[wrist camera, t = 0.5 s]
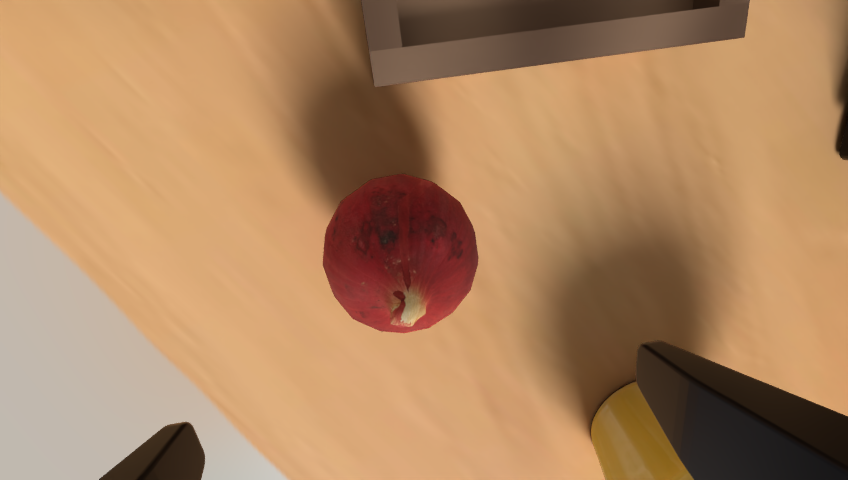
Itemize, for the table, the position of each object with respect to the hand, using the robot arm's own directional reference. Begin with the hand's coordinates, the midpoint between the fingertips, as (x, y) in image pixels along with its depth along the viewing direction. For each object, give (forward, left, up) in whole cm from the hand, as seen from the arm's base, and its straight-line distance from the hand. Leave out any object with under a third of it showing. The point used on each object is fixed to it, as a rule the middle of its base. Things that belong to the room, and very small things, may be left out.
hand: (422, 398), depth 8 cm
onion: (0, 0, -12) cm, 12 cm away
